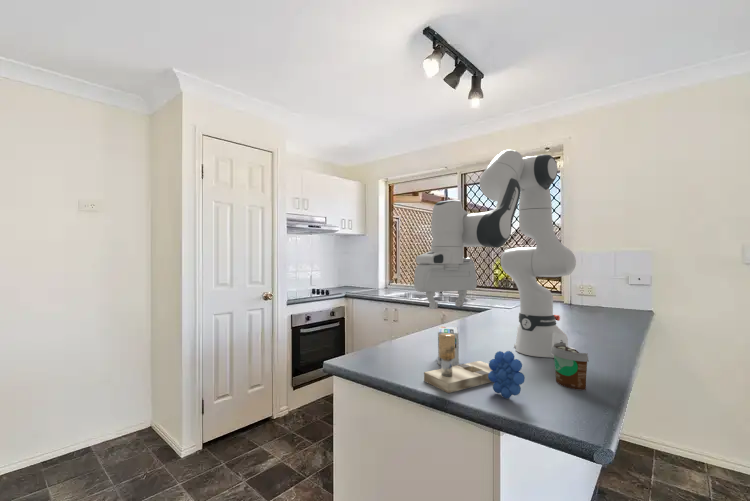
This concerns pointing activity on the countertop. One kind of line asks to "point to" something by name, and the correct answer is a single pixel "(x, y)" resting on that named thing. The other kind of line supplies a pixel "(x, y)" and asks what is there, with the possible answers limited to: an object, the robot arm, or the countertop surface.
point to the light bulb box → (455, 331)
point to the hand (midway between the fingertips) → (446, 307)
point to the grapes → (506, 374)
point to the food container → (570, 366)
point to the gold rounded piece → (446, 353)
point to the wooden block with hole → (460, 377)
